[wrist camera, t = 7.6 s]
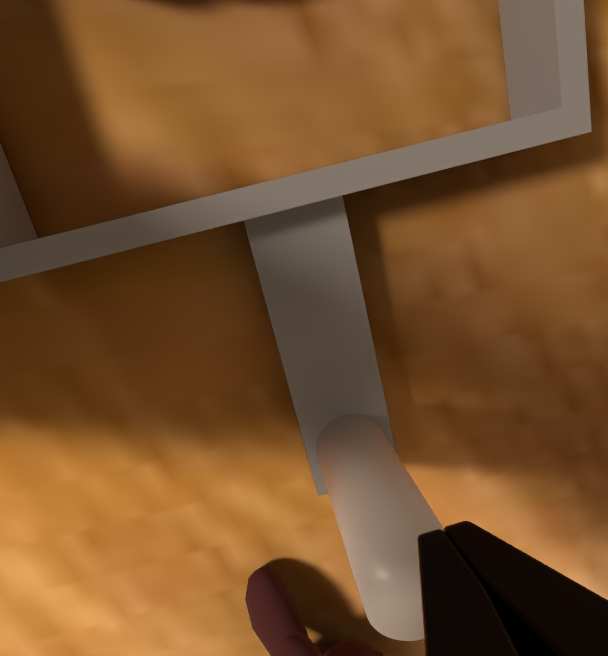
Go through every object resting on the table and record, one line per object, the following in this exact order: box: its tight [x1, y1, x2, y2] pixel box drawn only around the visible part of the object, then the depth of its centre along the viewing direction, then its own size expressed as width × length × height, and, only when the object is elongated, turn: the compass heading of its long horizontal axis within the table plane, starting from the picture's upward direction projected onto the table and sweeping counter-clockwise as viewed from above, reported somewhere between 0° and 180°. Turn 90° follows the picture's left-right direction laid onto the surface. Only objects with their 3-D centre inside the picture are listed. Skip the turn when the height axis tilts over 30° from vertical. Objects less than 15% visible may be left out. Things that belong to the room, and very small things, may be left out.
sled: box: [0, 0, 592, 641], centre depth 10 cm, size 26×17×7 cm, turn 13°
